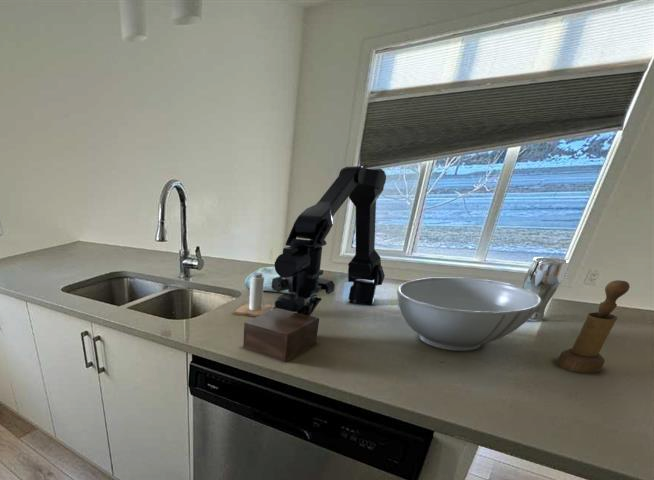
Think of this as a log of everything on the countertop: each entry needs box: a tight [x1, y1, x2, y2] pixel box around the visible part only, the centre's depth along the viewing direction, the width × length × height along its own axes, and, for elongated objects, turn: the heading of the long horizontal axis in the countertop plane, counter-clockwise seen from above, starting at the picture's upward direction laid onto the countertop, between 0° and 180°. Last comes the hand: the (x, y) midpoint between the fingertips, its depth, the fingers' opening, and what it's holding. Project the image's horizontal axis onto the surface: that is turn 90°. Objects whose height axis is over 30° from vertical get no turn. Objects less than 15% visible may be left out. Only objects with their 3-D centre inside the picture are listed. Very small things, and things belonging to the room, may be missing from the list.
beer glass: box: [522, 256, 570, 322], centre depth 103 cm, size 7×7×15 cm
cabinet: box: [242, 308, 320, 362], centre depth 103 cm, size 14×13×7 cm
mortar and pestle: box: [556, 279, 631, 374], centre depth 80 cm, size 7×6×18 cm
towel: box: [244, 266, 295, 295], centre depth 148 cm, size 18×21×5 cm
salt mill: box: [248, 272, 264, 310], centre depth 125 cm, size 4×4×11 cm
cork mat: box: [233, 301, 275, 317], centre depth 128 cm, size 10×10×1 cm
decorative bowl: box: [396, 276, 542, 352], centre depth 96 cm, size 27×27×12 cm
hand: (302, 324), depth 108 cm, fingers closed
